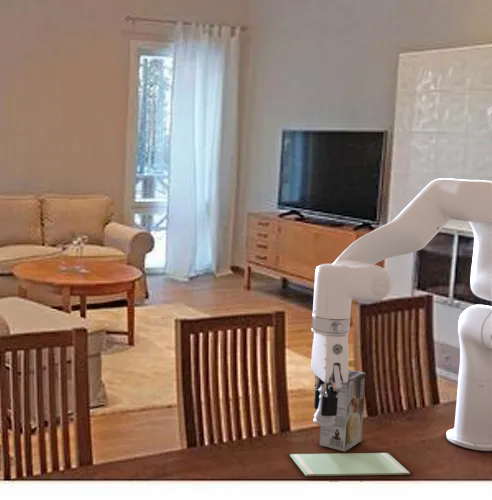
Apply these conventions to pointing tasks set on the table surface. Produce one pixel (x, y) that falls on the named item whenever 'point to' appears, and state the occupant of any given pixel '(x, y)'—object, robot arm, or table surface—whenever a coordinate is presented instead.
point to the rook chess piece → (318, 417)
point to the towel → (348, 464)
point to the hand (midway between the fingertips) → (325, 411)
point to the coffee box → (347, 415)
